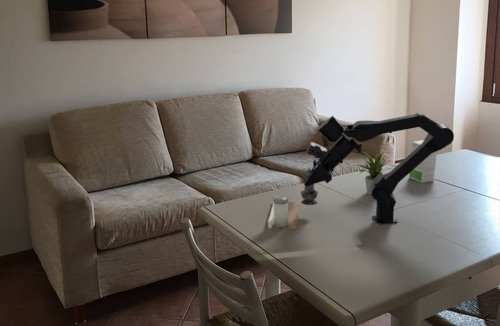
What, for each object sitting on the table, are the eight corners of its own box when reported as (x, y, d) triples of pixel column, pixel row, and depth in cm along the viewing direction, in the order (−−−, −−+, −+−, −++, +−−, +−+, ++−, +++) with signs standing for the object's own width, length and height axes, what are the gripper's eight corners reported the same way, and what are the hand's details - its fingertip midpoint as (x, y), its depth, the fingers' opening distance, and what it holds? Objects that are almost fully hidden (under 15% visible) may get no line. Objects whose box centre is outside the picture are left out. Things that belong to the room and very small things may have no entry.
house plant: (362, 184, 219) (363, 145, 214) (396, 189, 212) (398, 148, 208) (349, 194, 207) (351, 153, 203) (385, 199, 200) (387, 156, 196)
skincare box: (408, 178, 225) (410, 141, 221) (420, 175, 228) (423, 139, 224) (422, 183, 218) (425, 145, 214) (435, 181, 221) (438, 143, 216)
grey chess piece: (306, 198, 187) (306, 164, 184) (321, 201, 184) (321, 167, 180) (297, 203, 183) (296, 168, 180) (311, 206, 179) (311, 171, 176)
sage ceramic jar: (290, 226, 175) (289, 200, 172) (275, 228, 174) (275, 201, 171) (286, 221, 179) (286, 195, 177) (272, 222, 178) (271, 196, 176)
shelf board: (300, 205, 197) (300, 202, 197) (296, 232, 173) (296, 228, 173) (275, 204, 198) (275, 201, 198) (268, 231, 174) (268, 228, 174)
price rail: (277, 204, 198) (277, 196, 197) (271, 231, 174) (271, 222, 174) (274, 204, 198) (274, 196, 198) (267, 231, 175) (267, 222, 174)
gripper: (321, 128, 185) (289, 159, 190) (321, 141, 167) (285, 175, 172) (344, 151, 186) (312, 181, 191) (346, 166, 168) (310, 199, 173)
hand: (305, 183), depth 182 cm, fingers closed on grey chess piece, 4 cm apart
